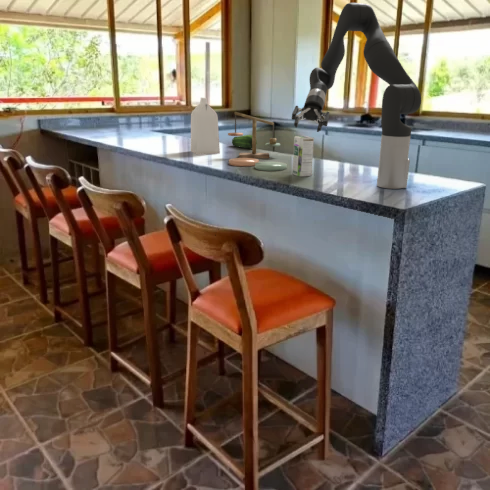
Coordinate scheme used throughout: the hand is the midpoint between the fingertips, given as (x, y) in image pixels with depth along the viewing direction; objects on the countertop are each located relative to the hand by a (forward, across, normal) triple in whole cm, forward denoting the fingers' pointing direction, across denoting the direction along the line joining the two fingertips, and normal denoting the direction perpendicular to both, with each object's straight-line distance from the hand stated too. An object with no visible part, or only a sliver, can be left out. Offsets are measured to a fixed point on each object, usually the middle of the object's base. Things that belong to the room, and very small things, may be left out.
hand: (307, 127), depth 183 cm
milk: (-20, -50, +45) cm, 70 cm away
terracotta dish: (+2, -24, +25) cm, 35 cm away
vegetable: (-39, -36, +55) cm, 77 cm away
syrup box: (+15, +2, +10) cm, 19 cm away
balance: (-15, -24, +36) cm, 45 cm away
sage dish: (+6, -12, +19) cm, 23 cm away
